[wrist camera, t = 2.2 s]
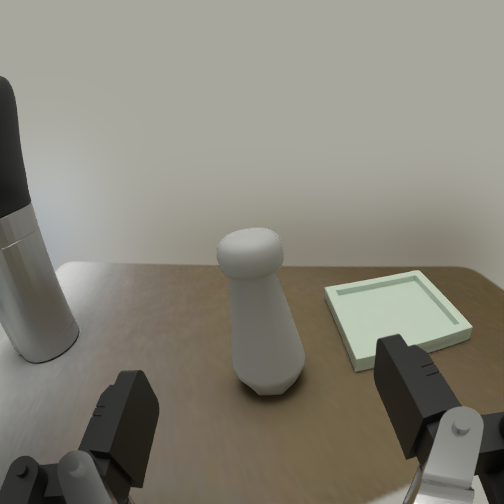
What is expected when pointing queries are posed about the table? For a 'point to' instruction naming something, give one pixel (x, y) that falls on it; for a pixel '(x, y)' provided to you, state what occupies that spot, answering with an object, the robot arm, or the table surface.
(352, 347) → the tray
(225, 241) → the salt shaker
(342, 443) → the table surface
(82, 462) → the robot arm
